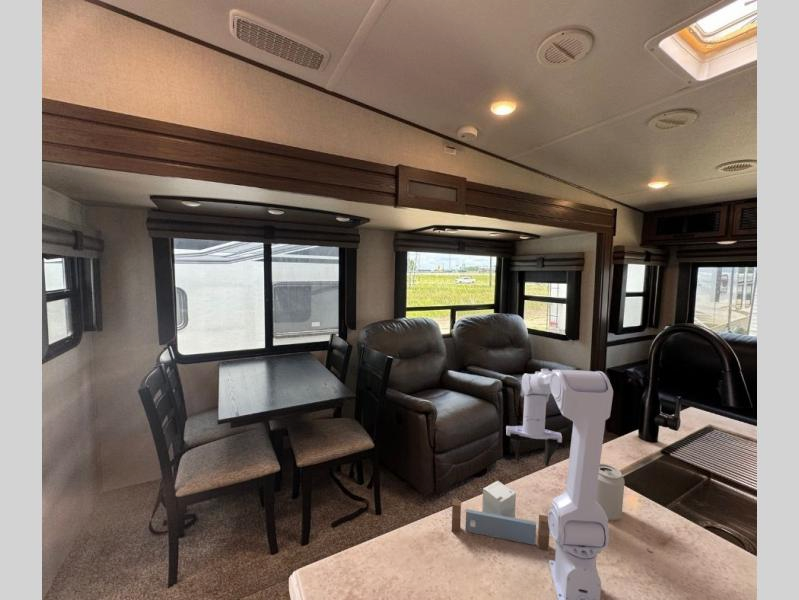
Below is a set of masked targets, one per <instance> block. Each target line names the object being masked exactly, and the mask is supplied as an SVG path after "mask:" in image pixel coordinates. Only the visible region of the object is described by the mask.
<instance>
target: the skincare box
mask: <svg viewBox="0 0 799 600" xmlns="http://www.w3.org/2000/svg"><path fill="white" fill-rule="evenodd" d="M516 499H517V492H515V491H514V490H512V489H511V488H509V487H508V486H507V485H505V484H503V483H502V482H501V481H499V480H496V481H494V482H492V483H491V484H489V485H488V486H485V487H483V488H482V503H481V505H482V508H481V512H485V513H491V514H496V515H502V516H507V517H512V518H516V503H517V502H516Z"/></svg>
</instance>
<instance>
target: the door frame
mask: <svg viewBox="0 0 799 600" xmlns="http://www.w3.org/2000/svg"><path fill="white" fill-rule="evenodd" d="M451 508H452V510H451V512H452V513H451V532H453V533H457V534H460V533H461V532H460V531H461V521H462V520H461V517H462V516H461V515H462V512H461V511H462V500H460V499H454V498H453V499H452V506H451ZM550 534H551V533H550V529H549V524H548V515H544V514H539V515H538V529H537V546H538V549H539V550H542V551H545V552H549V545H550Z"/></svg>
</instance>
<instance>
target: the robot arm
mask: <svg viewBox="0 0 799 600" xmlns="http://www.w3.org/2000/svg"><path fill="white" fill-rule="evenodd" d="M610 381H611V380H610V378H608V375H606V373H605V372H603V371H600V370H595V371H592V370H581V369H580V370H576V369H552V370H549V368H541V369H540V371H535V372H534V373H524V374H522V378H521V389H522V392H523V394H524V398H523V399H524V400H523V414H522V415H523V416H522V417H523V418H522V425H515V426H514V425H512V426H511V425H506V427H505V430H506V431H505V432H506V436H507V437H510V441H511V443H512V445H513V449H514V451H515V459H516V460H515V461H516V462H520V447H521V440H520V439H521V438H520V437H525V438H530V439H534V440H535V439H536V440H544V441H545V443H544V445H545V446H544V447H545V448H544V457H543V459H544V460H543V462H544V464H545V466H546V467H549V464H550V460H551V459H552V457H553V454H554V453H555V452H556V451H557V449H558V448H559V444H558V443H563V442H562V441H563V436H562V433H561V432H557V431H553V430H549V429H545V427H546V414H547V413H546V410H547V403H548V402H549V399H550V395H552V396H553V399H554V401H555V403H556V406H557V408H558V410H560V411H559V412H560V413H561V415H562V416H563V417H565V418H567V419H568V420H570V421H571V422H573V423H572V432H571V438H570V440H571V441H570V450H569V459H568V467H567V476H566V484H565V485H566V486H565V492H563V493H561V494H559V495H557V496H556V497H554V498H553V499H552V503H551V506H550V508H549V510H548V513H547V516H548V524H549V529H550V533H549V534H550V535H551V538H552V539H553V540H554V542H555V554H554V555H555V556H554V557H555V558H554V560H552V559H549V560H548V564H549V569H550V574H551V577H552V581H553V586H554V589H555V592H556V594H555V595H556V597H557V600H601V594H602V593H601V591H602V581H601V578H600V575H599V572H598V567H597V556H598V555H597V554H599V555H600V554H602V549H605V548H607V547H608V545H609V543H610V531H609V520H608V518H607V515H606V513H605V511H604V510H603V508H602V507H601V506H600V504H599V503H598V502H596V501H595V498H596V490H597V482H598V475H599V467H600V464H601V459H602V457H601V456H602V450H603V444H604V443H603V442H604V435H605V427H606V421H607V420H608V419H610V417H611V411H612V406H613V405H612V403H613V399H614V398H613V397H614V390H613V387H612V384H611V382H610Z"/></svg>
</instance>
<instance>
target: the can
mask: <svg viewBox="0 0 799 600" xmlns="http://www.w3.org/2000/svg"><path fill="white" fill-rule="evenodd" d="M625 483H626V482H625V478H624V477H623V474H622V472H621V470H619V469H618V468H616V467H615V466H613V465H611V464H608V463H607V464H606V463H600V467H599V475H598V482H597V490H596V498H595V501H596V502H598V503H599V504H600V506H601V507H602V508H603V510H604V511H605V513H606V515H607V518H608V521H616V520H619V519H621V518H622V516H623V508H624V507H623V505H624V493H625V491H624V490H625Z"/></svg>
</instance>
